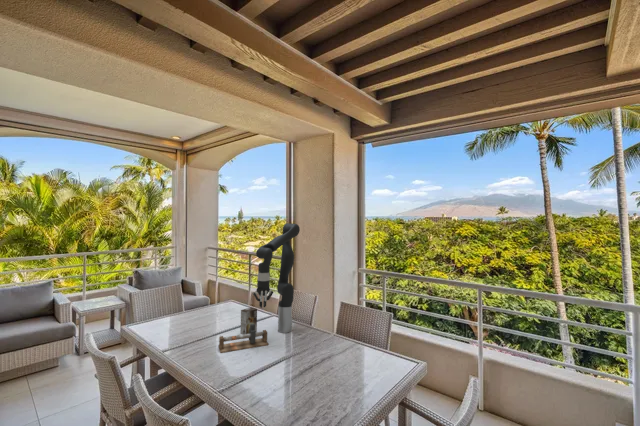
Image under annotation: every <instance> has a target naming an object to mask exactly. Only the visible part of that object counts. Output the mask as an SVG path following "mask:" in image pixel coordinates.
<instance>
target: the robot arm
mask: <svg viewBox="0 0 640 426" xmlns="http://www.w3.org/2000/svg"><path fill="white" fill-rule="evenodd" d="M299 234H300V225H299V224H297V223H289V222H288V223H287V222H286V223H285V224H284V225H283V227H282V234H281V235H277V236H276V237H274V238H273V239H271V240H270V241H269V242H267V243H265V244H263V245H261V246H260V247H258V249H256V252H255V255H256V257H257V258H258V259H261V260H263V261H262V262H259V263H258V268H257V269H258V271H257V284H256V287H257V288H256V290H255V291H253V292H252V294H253V297H254V299H255V300H256V301H257V302H259V303H258V306H259V308H261V309H262V308H266V307H267V301H270V300H271V297H272V296H273V295H274V291H273V290H271V289H270V280H271V276H270V269H271V268H270V267H271V263H272V259H273V256H274V255H273V254H274V252H276V251H277V250H279V248H280V247H281V248H282V249H281V255H280V257H281V258H280V269H279V276H278V282H277V289H276V291H277V293H278V294H279V295H281V300H279V302H278V311H277V312H278V316H277V332H278V333H280V334H281V333H283V334H286V333H287V334H288V333H290V332H293V316H292V313H293V311H292V307H293V302H294V294H295V293H294V292H295V291H294V286H293V284H292V283H289V276H290V273H291V270H292V268H294V262H295V252H294V249H293V248H292V246H291V245H292V244H291V240H292V239H293V238H295V237H297V236H298V235H299Z"/></svg>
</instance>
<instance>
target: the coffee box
mask: <svg viewBox="0 0 640 426" xmlns="http://www.w3.org/2000/svg"><path fill="white" fill-rule="evenodd" d="M257 323H258V308H256V307H252V306H251V307H247V308H244V309H240V334H239V335H244V334H249V328H250V324H255V331H256V333H257V332H258V331H257V329H258V328H257V326H258V324H257Z"/></svg>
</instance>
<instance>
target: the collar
mask: <svg viewBox="0 0 640 426" xmlns="http://www.w3.org/2000/svg"><path fill="white" fill-rule="evenodd" d="M250 333H251V338H248V340H249V341H250V342H251V344H252V343H255V339H257V337H256V333H257V332H256V331H255V324H250V328H249V334H250Z"/></svg>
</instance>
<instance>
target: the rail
mask: <svg viewBox="0 0 640 426" xmlns="http://www.w3.org/2000/svg"><path fill="white" fill-rule="evenodd" d="M257 337H259V338H257ZM260 337H261V338H260ZM249 338H251V333H250V334H244V335H242V334H239V335H232V336H223V335H220V336H219V338H218V345H217V346H218V350H219V353H220V354H225V353H230V352H235V351H236V352H237V351H242V350H248V349H254V348H259V347H266V346H269V342H268V330H266V329H263V330H262V331H259V332H258V331H257V332H256V339H255V343H252V344H251V342H250V341H249ZM245 339H248V340H245ZM238 340H240V341H238ZM241 340H242V341H241ZM231 341H233V342H231ZM235 341H236V342H235ZM225 342H229V343H225Z"/></svg>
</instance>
